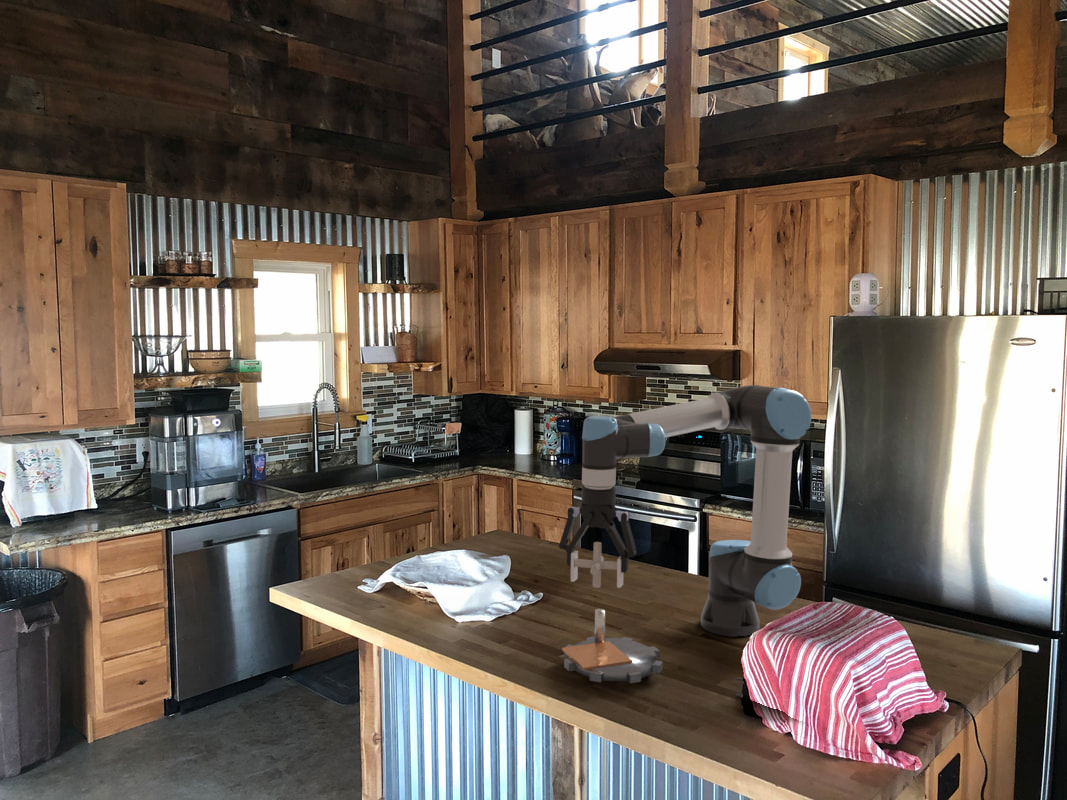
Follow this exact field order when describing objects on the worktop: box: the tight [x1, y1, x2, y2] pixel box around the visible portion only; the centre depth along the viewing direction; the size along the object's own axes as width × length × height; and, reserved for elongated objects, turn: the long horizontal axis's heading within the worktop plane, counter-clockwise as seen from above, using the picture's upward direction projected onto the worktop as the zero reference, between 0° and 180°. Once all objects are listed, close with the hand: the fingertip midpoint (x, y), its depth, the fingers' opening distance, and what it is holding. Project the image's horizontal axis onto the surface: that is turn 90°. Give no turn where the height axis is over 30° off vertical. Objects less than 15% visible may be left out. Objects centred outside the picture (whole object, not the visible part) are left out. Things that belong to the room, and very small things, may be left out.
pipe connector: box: [575, 541, 617, 589], centre depth 192 cm, size 10×10×10 cm
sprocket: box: [561, 608, 664, 684], centre depth 196 cm, size 23×23×10 cm
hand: (596, 583), depth 192 cm, fingers closed on pipe connector, 10 cm apart
